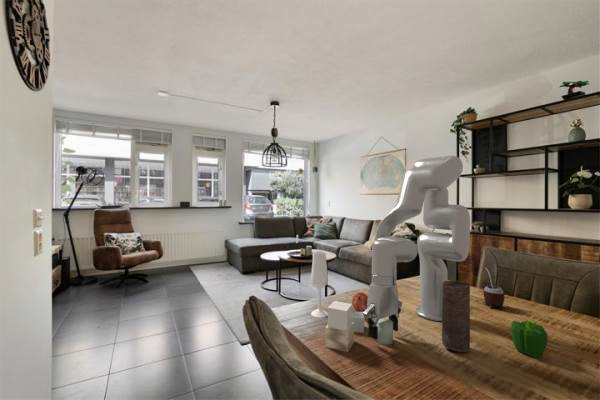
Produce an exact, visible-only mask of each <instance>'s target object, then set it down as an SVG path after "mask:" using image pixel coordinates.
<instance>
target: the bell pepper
mask: <svg viewBox="0 0 600 400" xmlns="http://www.w3.org/2000/svg"><path fill="white" fill-rule="evenodd" d="M510 335H511V338H512V339H511V340H512V342H513V343H512V344H513V346H514V347H515V349H516V350H517V351H518V352H520V353H523V354H526V355H528V356H530V357H534V358H541V357H542V356H543V355H544V353H545V351H546V348H547V345H548V340H549V335H548V333H547V331H546V330H545V328H544V326H543V325H541V324H538V322H536V321H535V320H532V319H528V320H524V321H523V320H522V321H516V320H513V321H512V322H511V324H510Z"/></svg>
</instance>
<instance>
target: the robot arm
mask: <svg viewBox="0 0 600 400" xmlns="http://www.w3.org/2000/svg"><path fill="white" fill-rule="evenodd" d="M463 168H464V165H463V161H462V159H461V158H459V157H458V156H457V155H446V156H438V157H430V158H429V157H428V158H423V159H419V160H416V161H415V162H414V163H413V167H412V168H409V169H407V170H406V171H405V173H404V174H403V177H402V180H401V185H400V190H399V192H398V196H397V200H396V204H395V206H394V207H393V209H391V210H390V211H389V212H388V213H387V214H386V215H385V216H384V217H383V218H382V219H381V221H380V222H379V224H378V225H377V227H376V232H375V235H374V239H373V241H372V244H371V282H370V284H369V288H368V293H367V296H368V302H367V309H366V310H365V311H364V312H363V315H364V322H365V321H366V323H367V325H368V333H367V334H368V337H369V338H372V339H373V340H375V341H376V340H377V339H378V326H376V325H377V323H378V321H379V319H382V318H388V319H389V320H391V321H392V322H393V332H394V331H395V332H399V318H400V314H401V310H402V309H401V308H402V306H403V302H402V301H401V300H399V293H398V292H399V291H398V285H397V267H398V266H397V264H398V263H410V262H412V261H413V260H415V259H416V257H417V256H419V306H416V307H415V313H416V314H417V315H418V316H419V317H421V318H422V319H423V318H424V319H426V320H430V321H433V322H434V321H436V322H442V298H443V282H444V281H447V280H448V268H447V265H446V264H445V262H444V260H446V261H452V262H464V261H465V260H466V259H467V258H468V256H469V251H470V241H471V239H470V235H471V215H470V214H471V213H470V211H469V210H468V207H466V206H464V205H462V204H449V190H448V188H449V187H450V186H451V185H453V183H454V182H455V181H457V180H458V179H459V178H460V177H461V175H462V173H463V170H464V169H463ZM422 211H423V213H422ZM421 213H422V215H423V216H422V221H423V224H424V226H426V228H429V229H436V230H443V231H451V233H443V232H434V231H429V232H428V231H427V232H423V233H421V234H420V235H419V236H418V237H417V241H416V242H415V241H414V240H411V239H408V238H403V237H399V236H398V237H397V236H391V235H392V232H393V231H394V229H395V228H396V227H398V225H400V224H401V223H403V222H404V223H405V222H406V221H408V220H411V219H412V218H415V217H418V216H419V215H420V214H421ZM416 243H417V244H416ZM373 318H374V320H373Z"/></svg>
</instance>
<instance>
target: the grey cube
mask: <svg viewBox="0 0 600 400" xmlns="http://www.w3.org/2000/svg"><path fill="white" fill-rule="evenodd" d="M352 322H354V333H360V334H361V333H363V334H364V333H365V317H364V315H363V312H360V311H356V310H355V311H353V310H352Z"/></svg>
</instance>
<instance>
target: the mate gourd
mask: <svg viewBox="0 0 600 400" xmlns="http://www.w3.org/2000/svg"><path fill="white" fill-rule="evenodd" d="M484 268H485V270H486V271H487V272H486V273H488V277H489V280H490V285H487V286H485V287H484V289H483V298H484V306H487V307H489V309H490V310H493V309H495V308H496V309H499V310H504V308H503V307H504V303H505V298H506V297H505V292H504V290H503V289H502V288H501V287H500V286H496V285H494V284H493V283H494V282H493V281H492V274H491V273H490V271H489V269H488V268H487V267H484Z"/></svg>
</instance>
